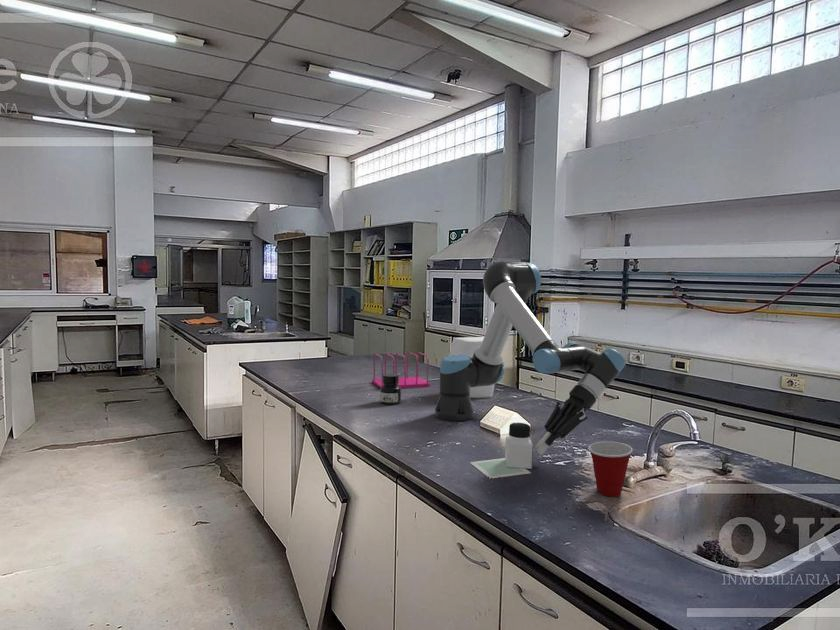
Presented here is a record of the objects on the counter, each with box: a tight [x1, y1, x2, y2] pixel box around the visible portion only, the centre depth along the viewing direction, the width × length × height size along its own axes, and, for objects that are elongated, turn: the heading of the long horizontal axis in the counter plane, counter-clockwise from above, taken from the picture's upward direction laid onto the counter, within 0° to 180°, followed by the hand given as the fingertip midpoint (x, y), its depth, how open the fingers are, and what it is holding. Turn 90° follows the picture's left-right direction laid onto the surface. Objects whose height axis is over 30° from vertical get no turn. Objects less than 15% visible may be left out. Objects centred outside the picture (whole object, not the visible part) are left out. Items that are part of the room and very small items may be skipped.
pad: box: [469, 457, 532, 480], centre depth 154 cm, size 13×13×1 cm
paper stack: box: [448, 336, 496, 399], centre depth 246 cm, size 21×27×26 cm
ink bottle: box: [379, 373, 402, 405], centre depth 228 cm, size 10×9×12 cm
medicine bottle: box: [504, 421, 534, 470], centre depth 156 cm, size 7×7×12 cm
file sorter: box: [371, 351, 431, 389], centre depth 265 cm, size 17×25×16 cm
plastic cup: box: [587, 441, 634, 497], centre depth 137 cm, size 11×11×12 cm
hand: (537, 451), depth 158 cm, fingers closed
